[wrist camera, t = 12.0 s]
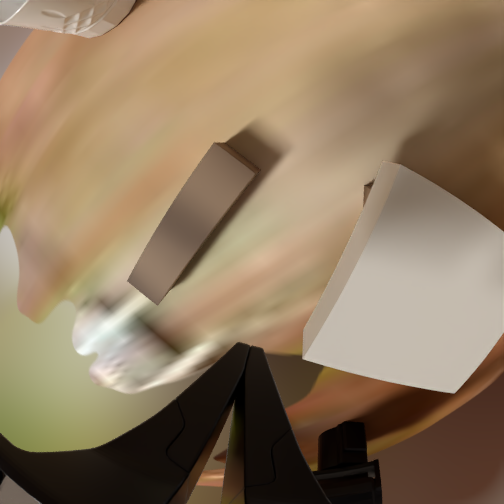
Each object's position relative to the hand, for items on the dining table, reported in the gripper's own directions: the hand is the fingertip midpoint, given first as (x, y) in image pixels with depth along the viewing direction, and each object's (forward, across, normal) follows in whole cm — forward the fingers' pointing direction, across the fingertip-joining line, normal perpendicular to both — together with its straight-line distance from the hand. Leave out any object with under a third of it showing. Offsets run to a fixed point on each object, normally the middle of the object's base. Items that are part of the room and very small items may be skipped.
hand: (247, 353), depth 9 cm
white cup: (+12, +18, -17) cm, 28 cm away
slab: (+9, -11, 0) cm, 14 cm away
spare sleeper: (+12, +6, 0) cm, 13 cm away
